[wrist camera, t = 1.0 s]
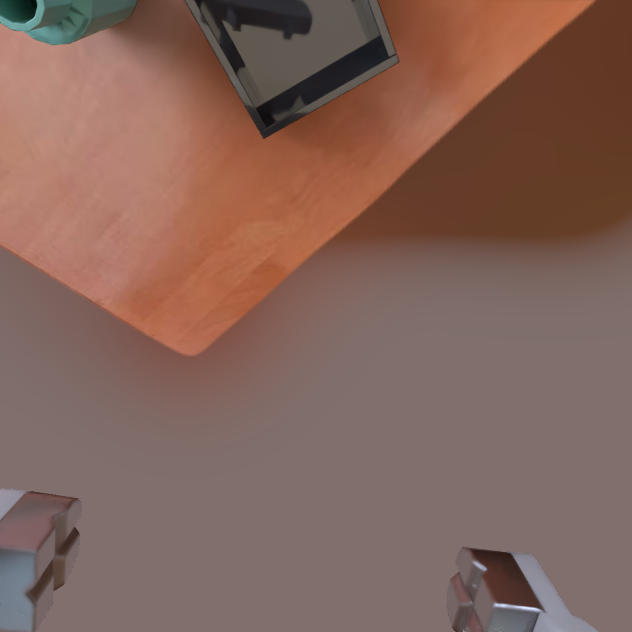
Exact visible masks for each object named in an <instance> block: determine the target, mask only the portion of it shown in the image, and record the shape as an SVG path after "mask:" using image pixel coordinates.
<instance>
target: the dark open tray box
mask: <svg viewBox="0 0 632 632" xmlns="http://www.w3.org/2000/svg"><path fill="white" fill-rule="evenodd" d="M185 2H186V4H187V6H188V7H189V9H190V11H191V13H192V14H193V16H194V18H195V20H196V21H197V23H198V25H199V27H200V28H201V30H202V32H203V34H204V35H205V37H206V39H207V41H208V42H209V44H210V46H211V48H212V50H213V51H214V53H215V55H216V57H217V58H218V60H219V62H220V64H221V65H222V67H223V69H224V71H225V72H226V74H227V76H228V78H229V79H230V81H231V83H232V85H233V86H234V88H235V90H236V92H237V93H238V95H239V97H240V99H241V100H242V102H243V104H244V106H245V107H246V109H247V111H248V113H249V114H250V116H251V118H252V120H253V121H254V123H255V125H256V127H257V128H258V130H259V131H260V134H261V135H262V137H263V139H265V138H266V137H268V136H270V135H272V134H274V133H275V132H277V131H279V130H281V129H282V128H284V127H286V126H288V125H289V124H291V123H293V122H295V121H297V120H298V119H300V118H302V117H304V116H305V115H307V114H309V113H311V112H312V111H314V110H316V109H318V108H319V107H321V106H323V105H325V104H327V103H328V102H330V101H332V100H334V99H335V98H337V97H339V96H341V95H342V94H344V93H346V92H348V91H350V90H351V89H353V88H355V87H357V86H358V85H360V84H362V83H364V82H365V81H367V80H369V79H371V78H372V77H374V76H376V75H378V74H380V73H381V72H383V71H385V70H387V69H388V68H390V67H392V66H394V65H395V64H397V63H399V58H398V56H397V54H396V50H395V47H394V44H393V42H392V39H391V36H390V33H389V30H388V28H387V25H386V22H385V19H384V16H383V14H382V11H381V8H380V5H379V2H378V0H185Z"/></svg>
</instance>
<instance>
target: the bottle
mask: <svg viewBox="0 0 632 632" xmlns="http://www.w3.org/2000/svg"><path fill="white" fill-rule="evenodd" d="M136 3H137V0H0V23H1V24H3V25H5V26H6V27H8V28H10V29H12V30H14V31H24V32H25V33H27V34H28V35H29V36H31V37H32V38H33V39H35V40H38V41H42V42H45V43H48V44H51V45H60V44H70V43H72V42H75V41H77V40H79V39H82V38H84V37H87V36H89V35H92V34H94V33H97V32H99V31H101V30H104V29H106V28H109V27H111V26H114V25H116V24H118V23H120V22H122V21H123V20H125V19H127V18H128V17H129V16H130V15H131V14H132V12H133V10H134V8H135V6H136Z"/></svg>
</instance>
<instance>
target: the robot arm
mask: <svg viewBox="0 0 632 632" xmlns="http://www.w3.org/2000/svg"><path fill="white" fill-rule="evenodd" d="M80 517H81V501H80V500H79V498H73V497H66V496H59V495H53V494H46V493H40V492H33V491H30V492H28V491H24V490H17V489H10V488H4V489H1V490H0V632H36V630H37V629H38V627H39V626H40V624H41V622H42V621H43V619H44V617H45V616H46V614H47V612H48V611H49V609H50V607H51V605H52V604H53V591H55V590H56V589H58V588H59V587H61V586H63V585H64V584H65V582H66V580H67V579H68V577H69V575H70V573H71V571H72V568H73V566H74V563H75V560H76V558H77V554H78V549H79V544H80V533H79V532H78V531H77V529H76V528H75V524H76V523H77V521H78V520H79V518H80ZM456 564H457V567H458V569H459V572H458V573H457V574H456V575H455V576H453V577H452V578H451V579H450V584H449V587H448V591H447V609H448V615H449V619H450V622H451V625H452V628H453V629H454V630H455V631H456V632H598V631H597V630H595V629H594V628H593V627H591V626H590V625H589V624H587V623H586V622H585V621H584V620H582V619H581V618H579V617H574V616H572V615H571V614H570V612H569V611H568V609H567V608H566V606H565V604H564V603H563V601H562V600H561V598H560V597H559V595H558V594H557V592H556V590H555V589H554V587H553V586H552V584H551V583H550V581H549V579H548V578H547V576H546V575H545V573H544V572H543V570H542V568H541V567H540V565H539V564H538V562H537V561H536V559H535V558H534V557H533V556H532V555H530V554H528V553H517V552H501V551H493V550H485V549H476V548H468V547H462V548H461V550H460V551H459V553H458V556H457V559H456Z"/></svg>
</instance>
